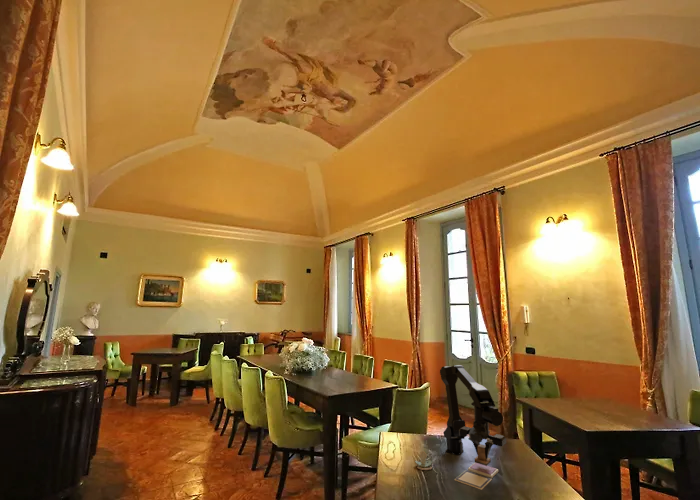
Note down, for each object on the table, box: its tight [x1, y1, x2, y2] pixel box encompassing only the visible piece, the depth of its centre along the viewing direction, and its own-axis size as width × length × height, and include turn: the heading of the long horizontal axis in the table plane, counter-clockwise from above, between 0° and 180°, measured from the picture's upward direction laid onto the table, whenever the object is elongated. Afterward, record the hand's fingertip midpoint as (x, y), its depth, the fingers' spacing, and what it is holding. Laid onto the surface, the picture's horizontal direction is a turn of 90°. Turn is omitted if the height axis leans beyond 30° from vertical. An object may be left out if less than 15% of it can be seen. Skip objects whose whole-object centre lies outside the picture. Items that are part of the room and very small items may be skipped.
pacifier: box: [414, 450, 433, 471], centre depth 154 cm, size 7×6×6 cm
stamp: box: [474, 443, 492, 466], centre depth 152 cm, size 5×5×6 cm
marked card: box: [454, 469, 492, 491], centre depth 143 cm, size 11×11×1 cm
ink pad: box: [467, 462, 499, 479], centre depth 151 cm, size 10×8×1 cm
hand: (482, 457), depth 152 cm, fingers closed on stamp, 3 cm apart
